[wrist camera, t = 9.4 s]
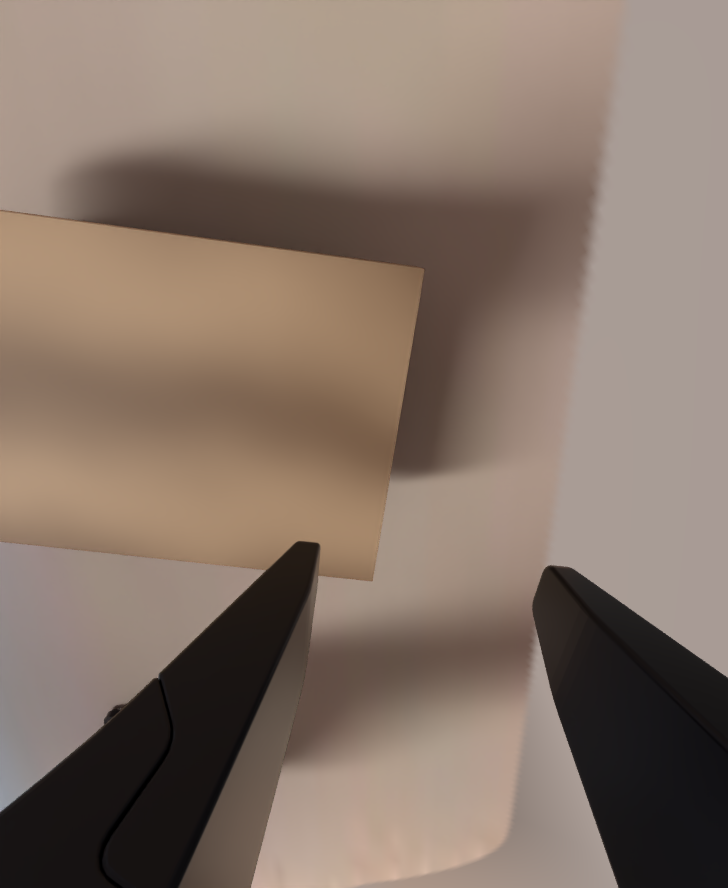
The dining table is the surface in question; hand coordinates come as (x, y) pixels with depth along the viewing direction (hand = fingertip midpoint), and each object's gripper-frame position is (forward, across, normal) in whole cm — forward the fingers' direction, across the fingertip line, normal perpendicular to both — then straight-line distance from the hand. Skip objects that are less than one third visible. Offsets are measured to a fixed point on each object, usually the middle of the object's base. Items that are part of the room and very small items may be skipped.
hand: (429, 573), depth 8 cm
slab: (+8, +7, 0) cm, 11 cm away
